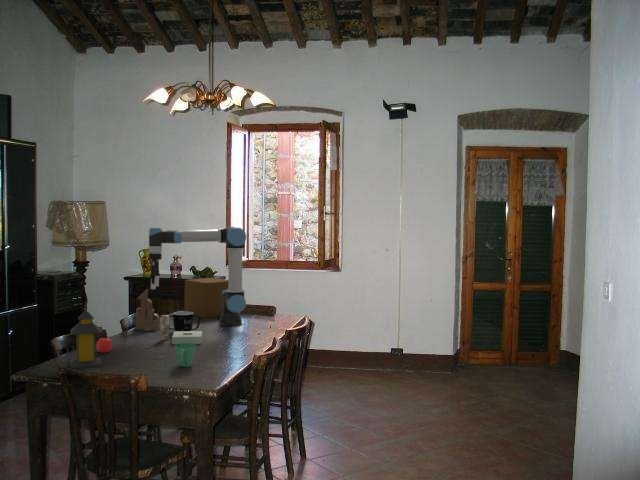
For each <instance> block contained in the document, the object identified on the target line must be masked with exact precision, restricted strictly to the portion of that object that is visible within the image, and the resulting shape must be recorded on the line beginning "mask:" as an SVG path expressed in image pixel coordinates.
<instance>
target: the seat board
mask: <svg viewBox="0 0 640 480" xmlns="http://www.w3.org/2000/svg"><path fill="white" fill-rule="evenodd" d="M173 331H174V332H173V333H172V336H171V344H172V345H176V344H178V345H179V344H180V343H193V344H196V345H198V344H199V345H200V344H201V345H202V341H203V331H202V330H191V331H175V330H173Z"/></svg>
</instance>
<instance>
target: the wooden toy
mask: <svg viewBox="0 0 640 480" xmlns="http://www.w3.org/2000/svg"><path fill="white" fill-rule="evenodd" d="M148 294H149V289H145V290H144V291H143V292H142V293H141V294H140V295H139V296H138V297H136V299H137V300H140V307H137V308H136V310H135V311H136V315H135V326H134V328H135V330H136V331H142V330H143V329H144V327H146V326H147V327H149V329H150V331H153V332H154V331H158V330H161V316H159V314H158V313H155V309H153V301H152V300H151V299H150V298H149V295H148Z"/></svg>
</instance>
